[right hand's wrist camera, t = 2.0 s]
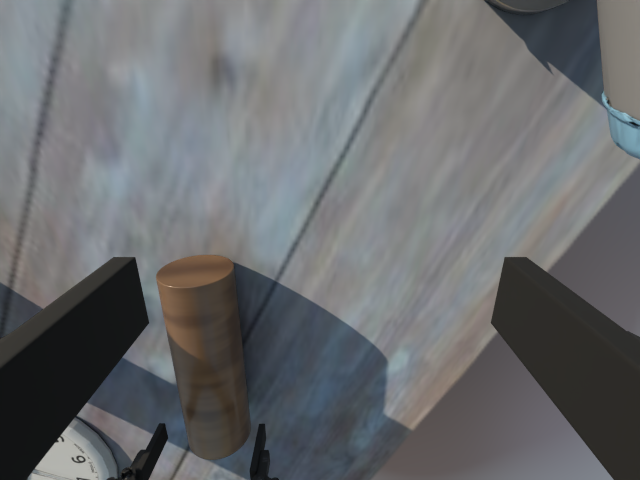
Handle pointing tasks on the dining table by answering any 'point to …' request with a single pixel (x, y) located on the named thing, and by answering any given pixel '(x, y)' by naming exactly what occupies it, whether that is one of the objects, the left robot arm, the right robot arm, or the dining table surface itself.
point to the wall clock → (77, 457)
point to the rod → (207, 352)
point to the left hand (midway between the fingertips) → (213, 430)
